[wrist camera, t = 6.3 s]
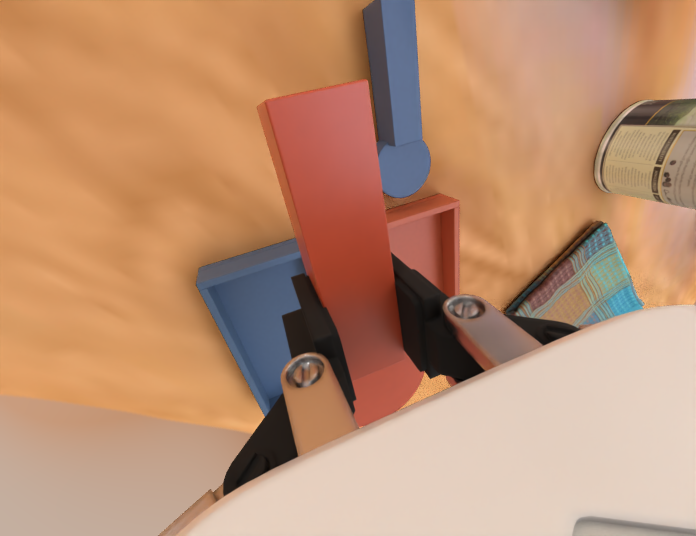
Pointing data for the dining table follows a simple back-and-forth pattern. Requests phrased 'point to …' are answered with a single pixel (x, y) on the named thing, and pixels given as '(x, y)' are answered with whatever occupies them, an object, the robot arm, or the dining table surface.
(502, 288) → the dining table surface
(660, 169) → the coffee can
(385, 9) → the blue spoon
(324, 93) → the terracotta spoon
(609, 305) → the dish towel
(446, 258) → the terracotta tray
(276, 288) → the blue tray
